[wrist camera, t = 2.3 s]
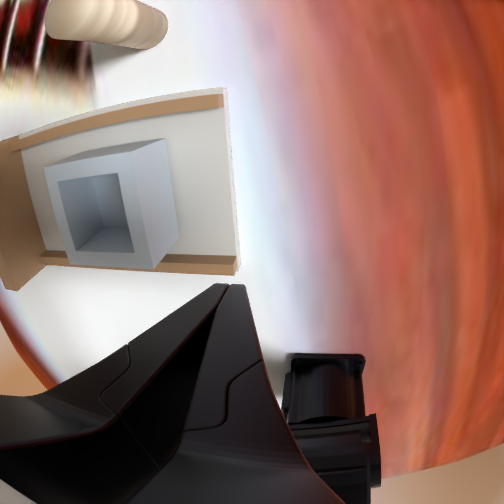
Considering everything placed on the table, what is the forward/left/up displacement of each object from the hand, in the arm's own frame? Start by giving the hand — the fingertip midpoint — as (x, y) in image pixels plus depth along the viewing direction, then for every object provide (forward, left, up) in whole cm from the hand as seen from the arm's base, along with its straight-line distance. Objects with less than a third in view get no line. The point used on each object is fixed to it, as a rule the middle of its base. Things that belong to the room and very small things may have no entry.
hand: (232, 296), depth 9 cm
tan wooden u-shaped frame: (+13, 0, -12) cm, 17 cm away
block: (+10, 0, -11) cm, 14 cm away
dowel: (+8, -11, -12) cm, 18 cm away
